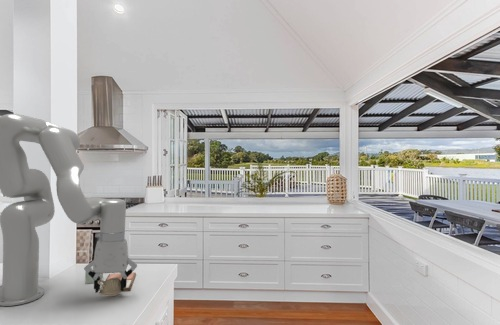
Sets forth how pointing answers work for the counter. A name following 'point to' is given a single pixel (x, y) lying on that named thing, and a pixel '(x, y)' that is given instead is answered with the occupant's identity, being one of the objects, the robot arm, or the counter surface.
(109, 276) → the brown framed panel
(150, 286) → the counter surface
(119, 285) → the decorative ornament
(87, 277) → the die
